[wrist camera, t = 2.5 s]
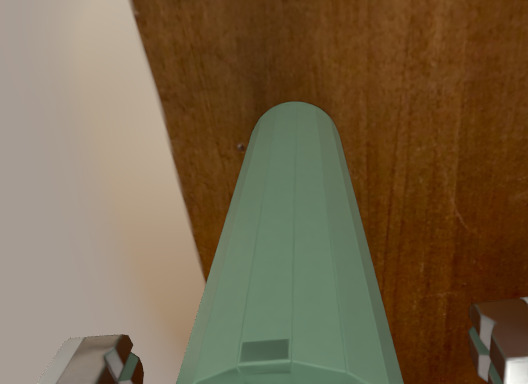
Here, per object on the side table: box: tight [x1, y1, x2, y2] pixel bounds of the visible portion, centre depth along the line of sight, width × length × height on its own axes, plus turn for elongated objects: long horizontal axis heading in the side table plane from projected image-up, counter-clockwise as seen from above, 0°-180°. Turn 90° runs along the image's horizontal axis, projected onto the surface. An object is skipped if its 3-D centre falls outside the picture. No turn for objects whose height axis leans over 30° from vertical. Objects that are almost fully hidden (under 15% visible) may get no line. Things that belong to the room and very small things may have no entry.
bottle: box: [176, 102, 403, 384], centre depth 12 cm, size 4×4×19 cm
